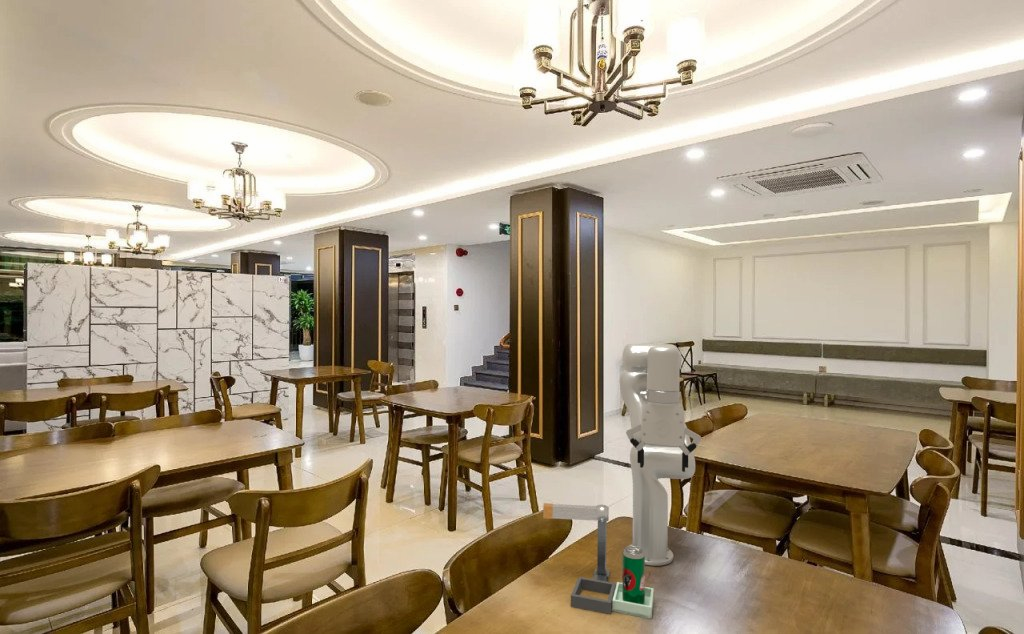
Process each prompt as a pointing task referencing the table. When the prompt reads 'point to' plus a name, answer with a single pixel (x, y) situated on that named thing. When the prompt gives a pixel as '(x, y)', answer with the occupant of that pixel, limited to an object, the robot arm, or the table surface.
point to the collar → (591, 602)
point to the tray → (630, 607)
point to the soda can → (633, 575)
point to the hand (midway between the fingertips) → (662, 468)
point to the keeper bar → (576, 512)
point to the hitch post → (601, 553)
